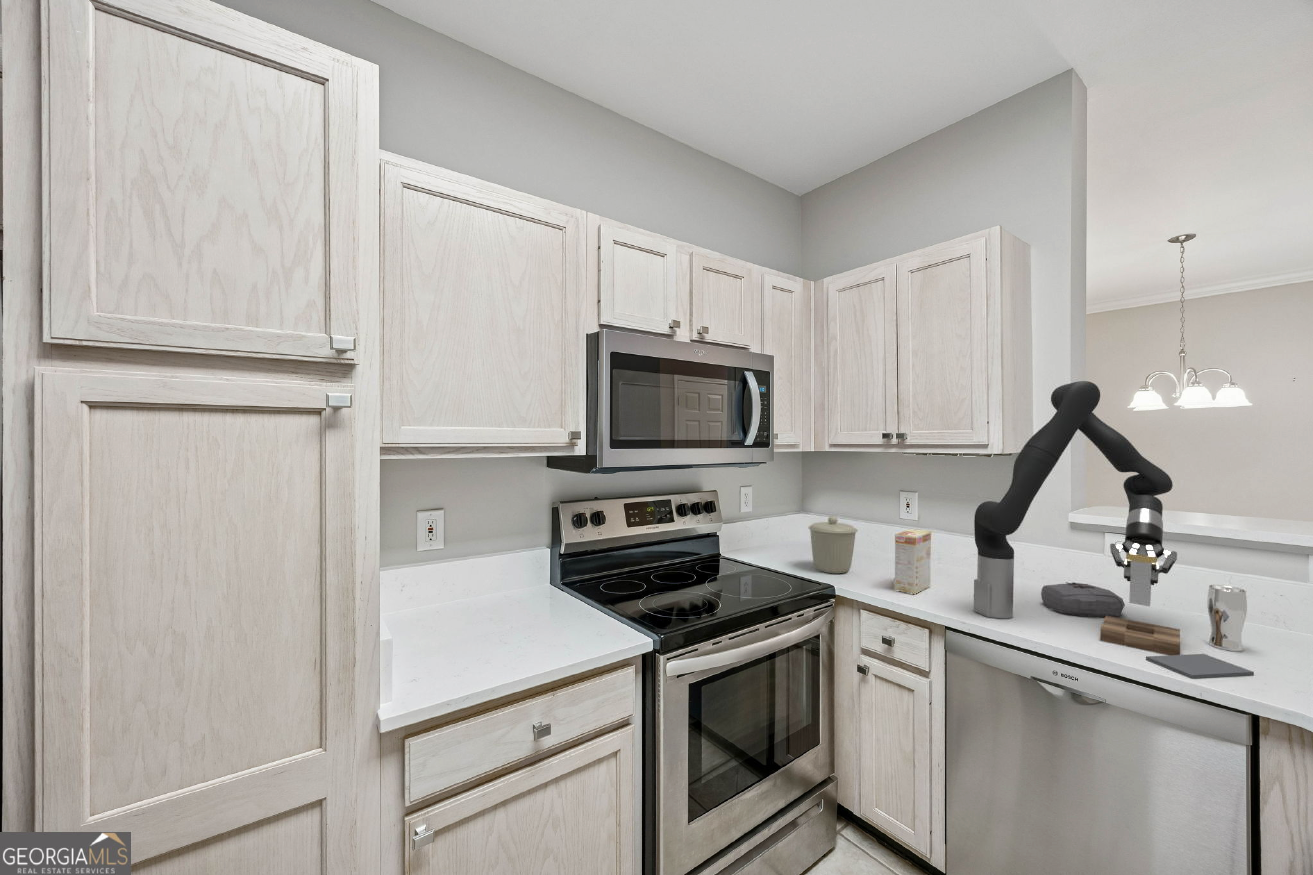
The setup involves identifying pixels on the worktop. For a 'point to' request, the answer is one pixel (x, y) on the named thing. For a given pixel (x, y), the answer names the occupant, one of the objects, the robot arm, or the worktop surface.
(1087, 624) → the worktop surface
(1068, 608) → the grey rounded bag
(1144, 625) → the socket block
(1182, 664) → the slate mat
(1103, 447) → the robot arm
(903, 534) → the coffeecake box
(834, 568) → the canister
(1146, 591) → the t key
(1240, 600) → the beer glass
